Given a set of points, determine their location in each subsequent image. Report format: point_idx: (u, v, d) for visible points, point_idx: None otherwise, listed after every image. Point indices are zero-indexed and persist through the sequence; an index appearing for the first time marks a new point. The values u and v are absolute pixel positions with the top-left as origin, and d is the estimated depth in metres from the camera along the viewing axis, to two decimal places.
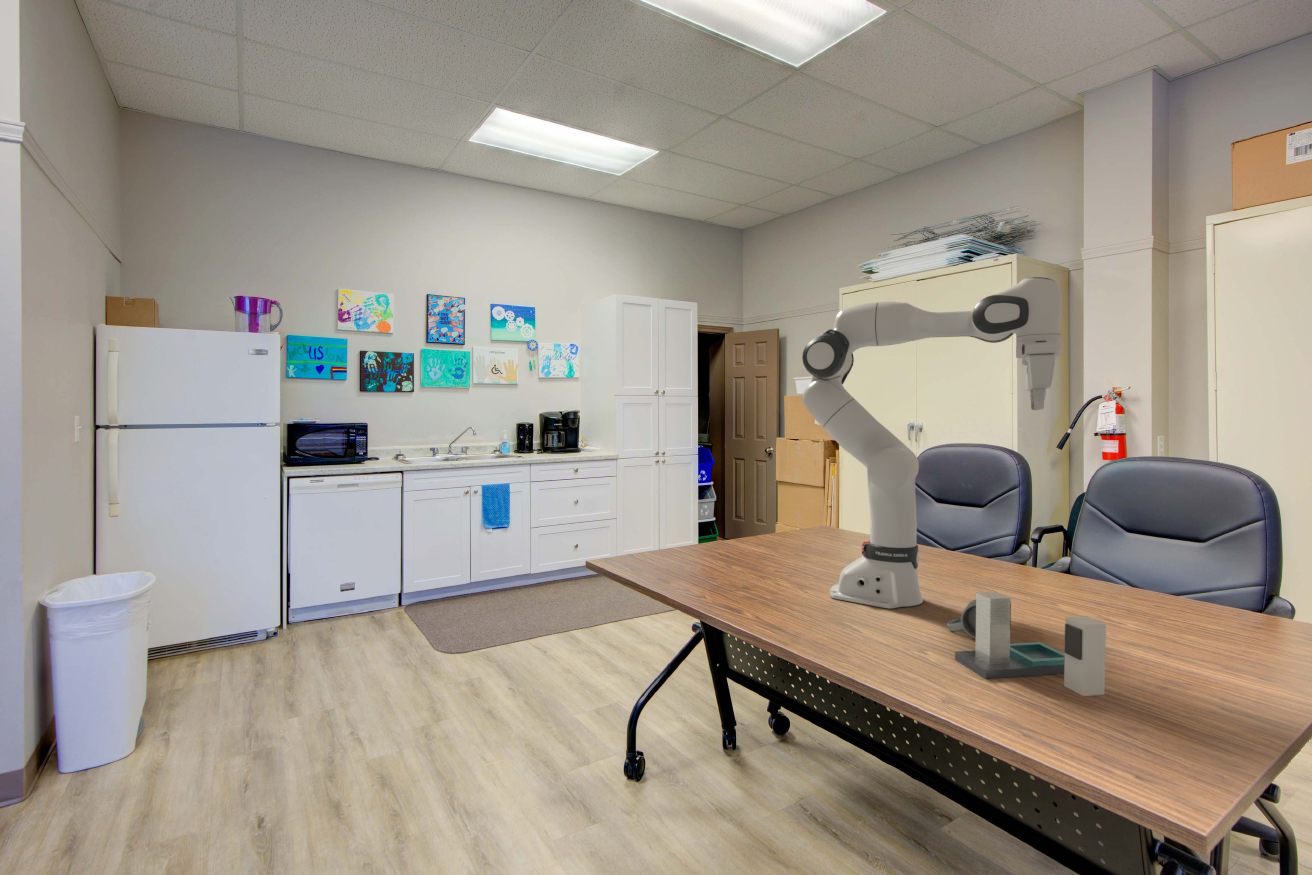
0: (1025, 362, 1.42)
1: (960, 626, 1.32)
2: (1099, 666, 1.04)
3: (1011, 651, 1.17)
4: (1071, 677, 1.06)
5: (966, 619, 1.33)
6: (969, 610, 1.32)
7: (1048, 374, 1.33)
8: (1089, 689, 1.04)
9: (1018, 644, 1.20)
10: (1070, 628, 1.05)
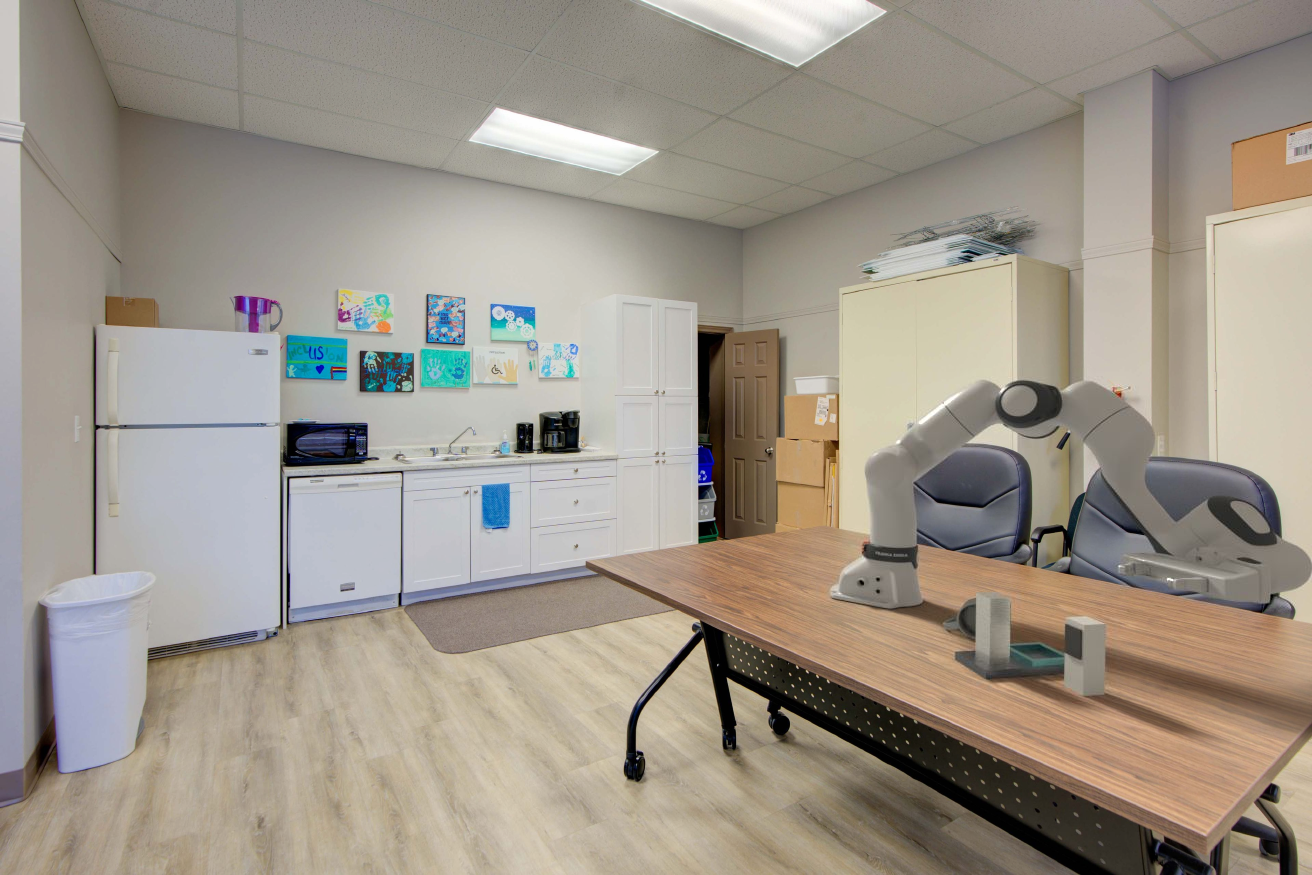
0: (1210, 560, 1.06)
1: (956, 625, 1.33)
2: (1099, 666, 1.04)
3: (1011, 651, 1.17)
4: (1071, 677, 1.06)
5: (962, 618, 1.34)
6: (965, 609, 1.33)
7: (1244, 597, 0.98)
8: (1089, 689, 1.04)
9: (1018, 644, 1.20)
10: (1070, 628, 1.05)
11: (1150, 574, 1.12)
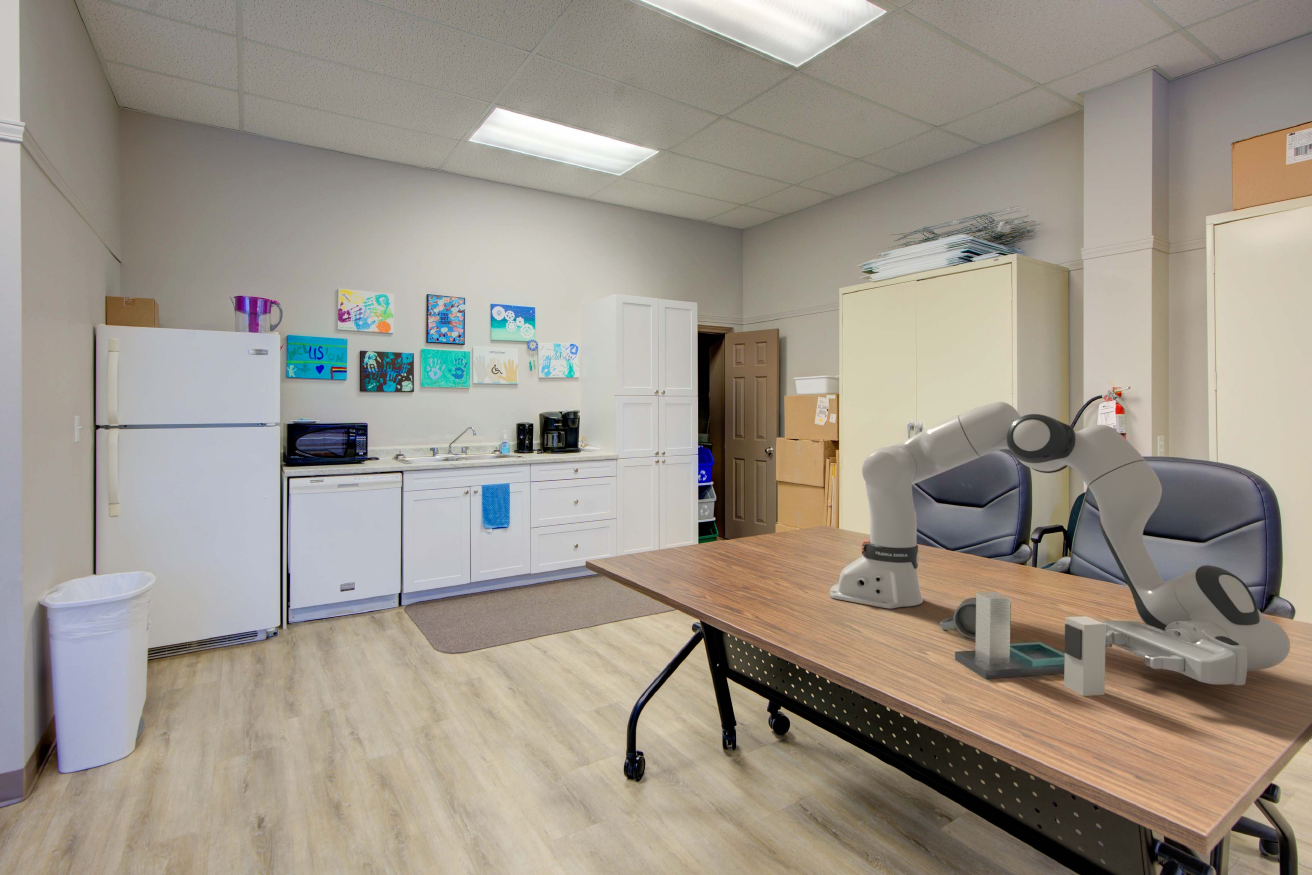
0: (1189, 636, 1.06)
1: (953, 625, 1.33)
2: (1099, 666, 1.04)
3: (1011, 651, 1.17)
4: (1071, 677, 1.06)
5: (959, 618, 1.34)
6: (962, 609, 1.33)
7: (1220, 679, 0.98)
8: (1089, 689, 1.04)
9: (1018, 644, 1.20)
10: (1070, 628, 1.05)
11: (1128, 645, 1.12)
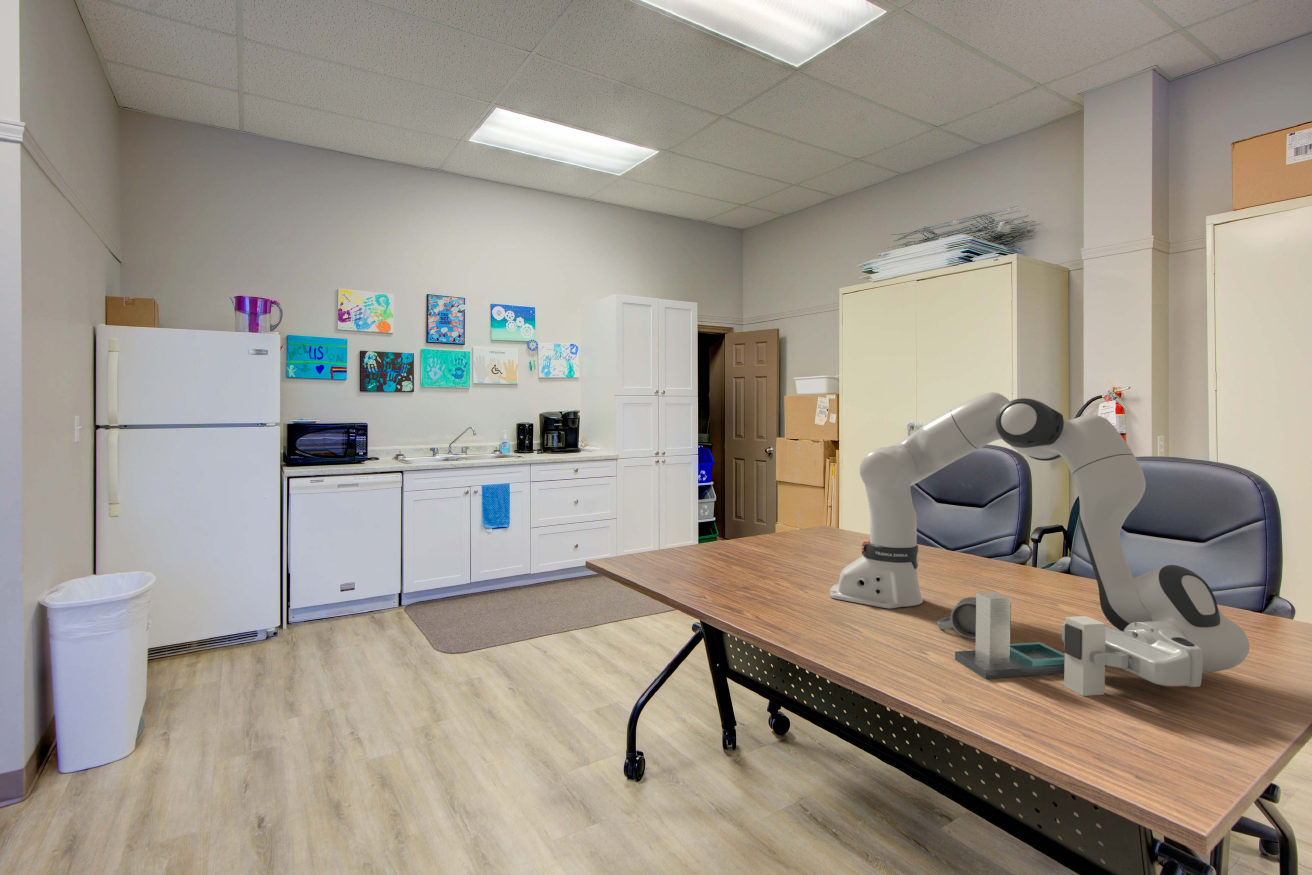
0: (1146, 637, 1.05)
1: (950, 624, 1.33)
2: (1099, 666, 1.04)
3: (1011, 651, 1.17)
4: (1071, 677, 1.06)
5: (956, 617, 1.34)
6: (959, 608, 1.33)
7: (1174, 681, 0.97)
8: (1089, 689, 1.04)
9: (1018, 644, 1.20)
10: (1070, 628, 1.06)
11: None
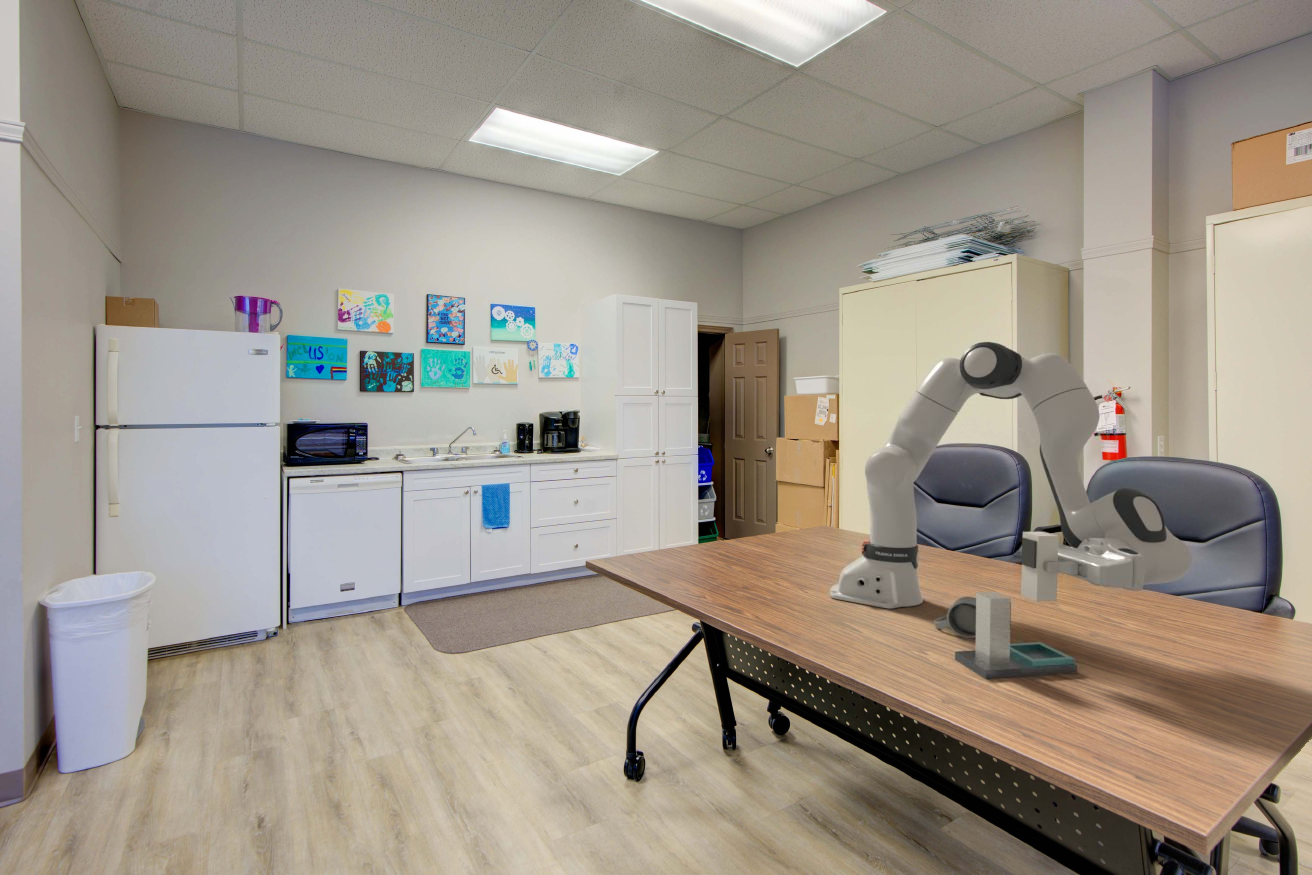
0: (1096, 550, 1.14)
1: (946, 624, 1.34)
2: (1052, 574, 1.13)
3: (1011, 651, 1.17)
4: (1027, 586, 1.15)
5: (952, 617, 1.35)
6: (955, 608, 1.34)
7: (1117, 583, 1.06)
8: (1042, 595, 1.13)
9: (1018, 644, 1.20)
10: (1026, 541, 1.15)
11: None
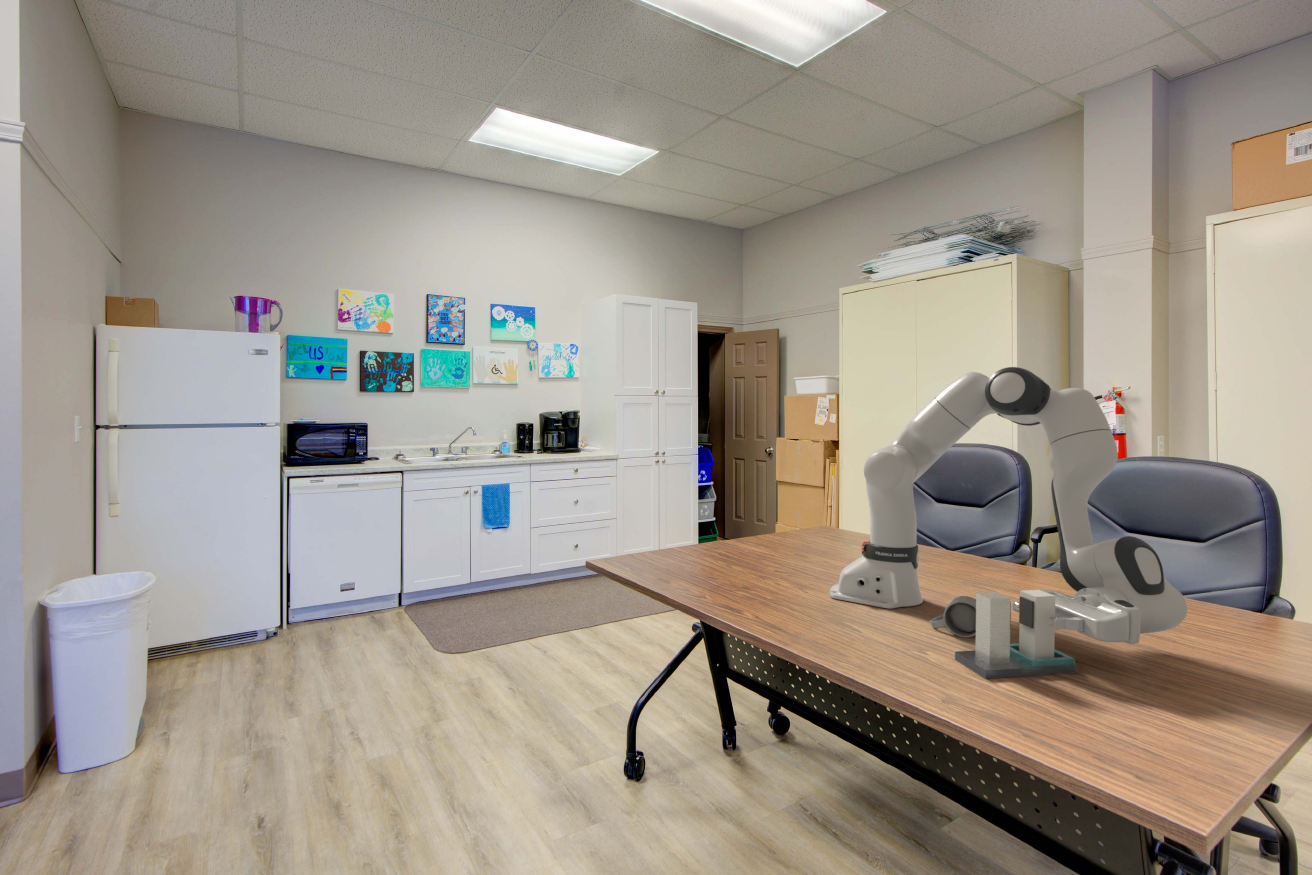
0: (1092, 601, 1.16)
1: (943, 623, 1.34)
2: (1049, 634, 1.15)
3: (1011, 651, 1.17)
4: (1025, 644, 1.17)
5: (949, 616, 1.35)
6: (951, 607, 1.34)
7: (1114, 637, 1.07)
8: (1040, 655, 1.15)
9: (1018, 644, 1.20)
10: (1024, 600, 1.16)
11: None
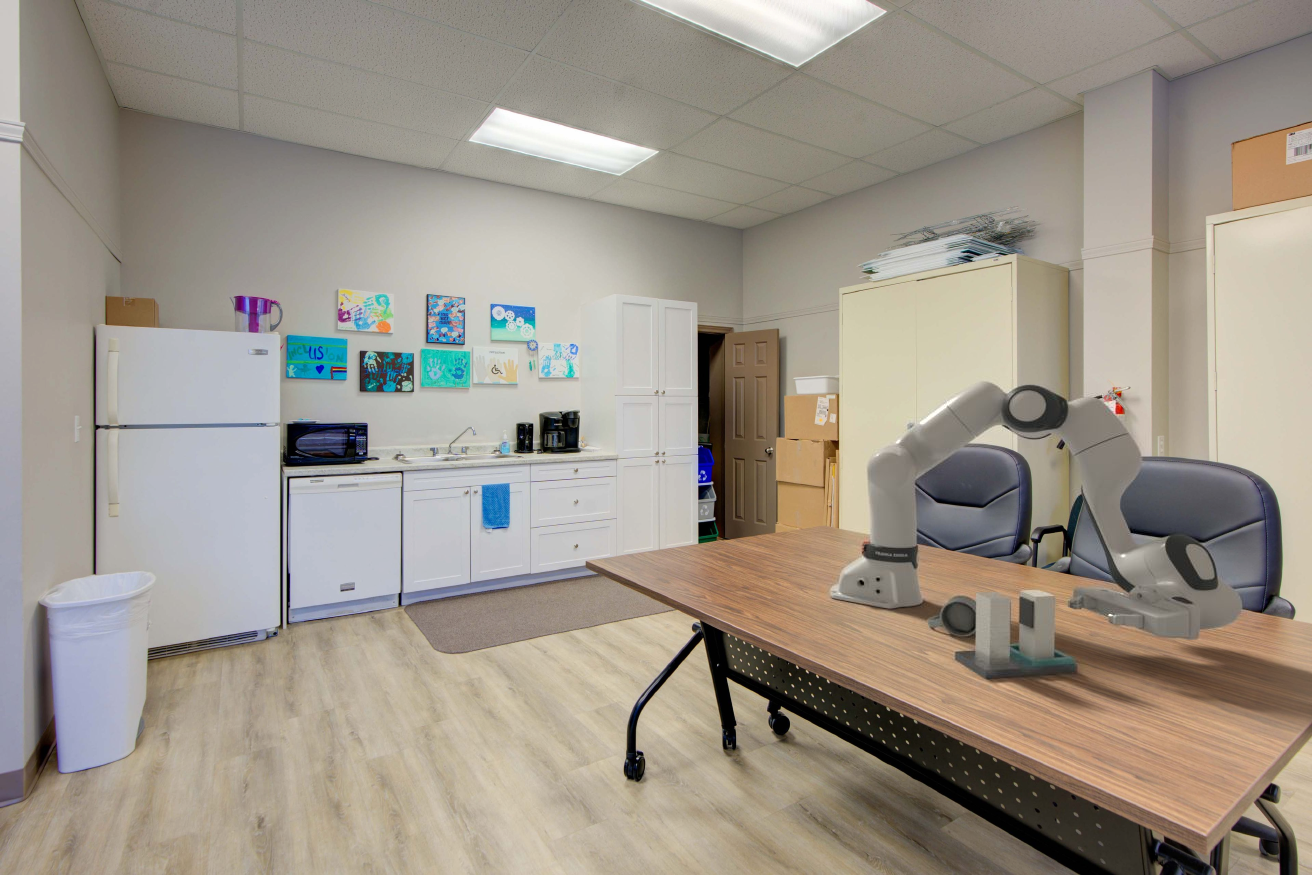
0: (1149, 598, 1.17)
1: (939, 623, 1.34)
2: (1049, 634, 1.15)
3: (1011, 651, 1.17)
4: (1025, 645, 1.17)
5: (945, 616, 1.35)
6: (948, 607, 1.35)
7: (1175, 633, 1.09)
8: (1040, 655, 1.15)
9: (1018, 644, 1.20)
10: (1023, 600, 1.16)
11: (1096, 608, 1.23)
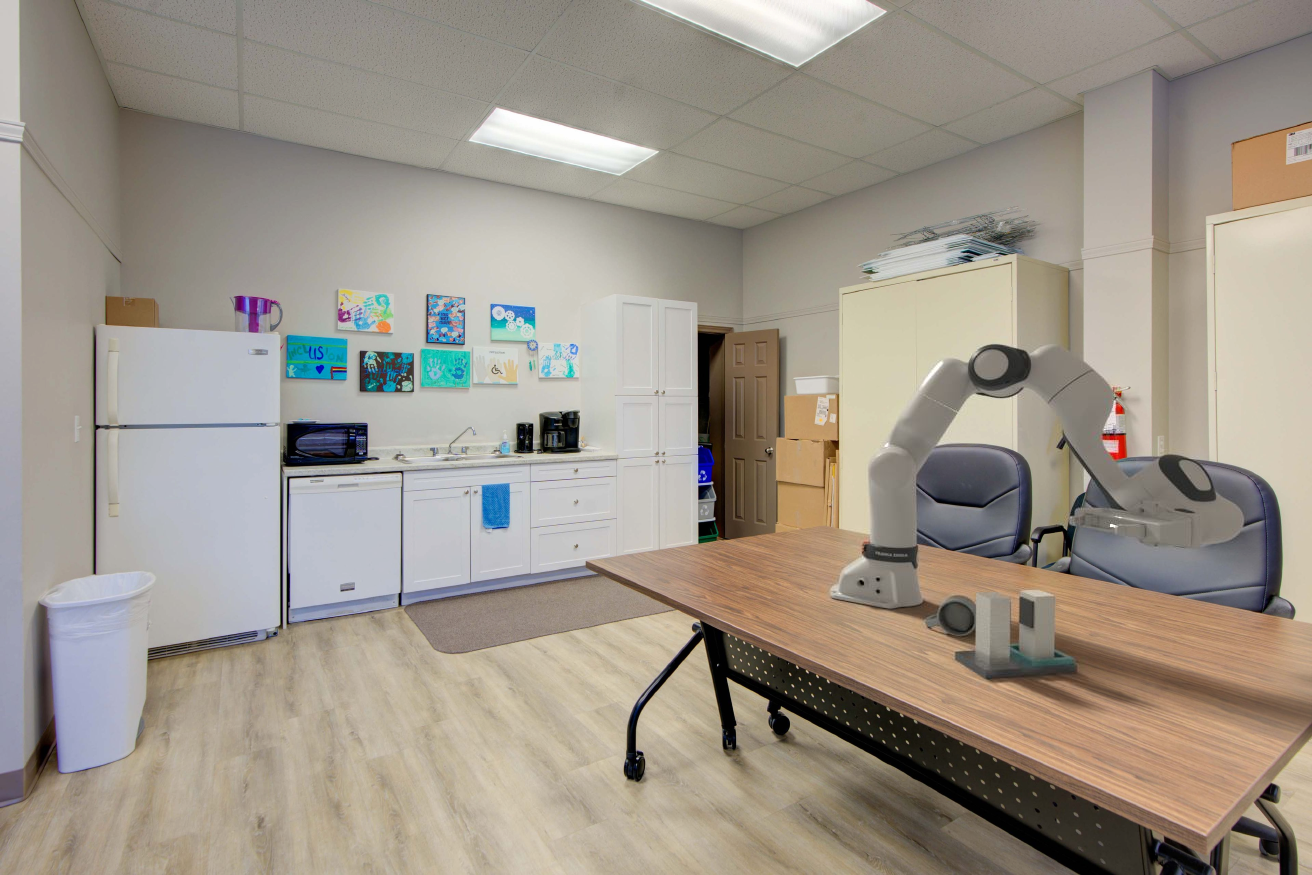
0: (1151, 511, 1.17)
1: (937, 622, 1.35)
2: (1049, 634, 1.15)
3: (1011, 651, 1.17)
4: (1025, 645, 1.17)
5: (942, 615, 1.36)
6: (945, 606, 1.35)
7: (1177, 540, 1.08)
8: (1040, 655, 1.15)
9: (1018, 644, 1.20)
10: (1023, 600, 1.16)
11: (1098, 525, 1.22)
